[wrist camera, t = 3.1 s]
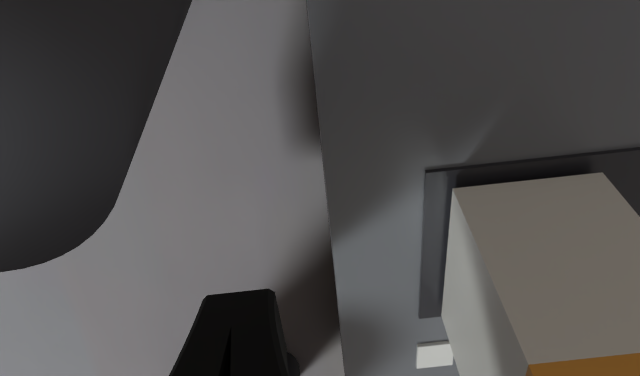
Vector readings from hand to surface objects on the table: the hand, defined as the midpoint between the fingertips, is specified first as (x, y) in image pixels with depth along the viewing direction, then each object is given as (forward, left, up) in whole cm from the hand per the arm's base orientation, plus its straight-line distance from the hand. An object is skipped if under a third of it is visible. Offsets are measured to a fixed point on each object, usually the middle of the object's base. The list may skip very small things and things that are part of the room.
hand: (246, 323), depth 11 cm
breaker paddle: (-6, 0, -1) cm, 6 cm away
